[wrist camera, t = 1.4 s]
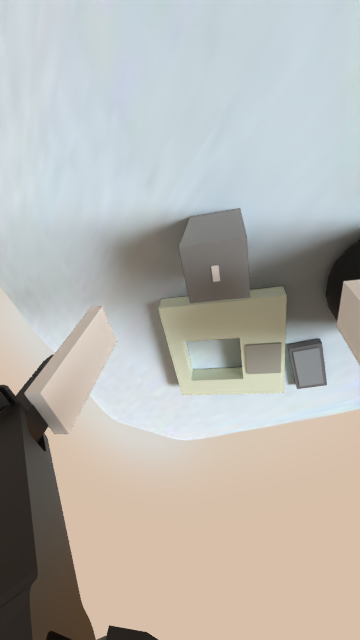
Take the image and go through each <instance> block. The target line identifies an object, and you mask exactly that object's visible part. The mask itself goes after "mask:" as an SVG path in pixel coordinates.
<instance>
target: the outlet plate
mask: <svg viewBox="0 0 360 640" xmlns="http://www.w3.org/2000/svg"><path fill="white" fill-rule="evenodd" d="M286 305H287V295H286V293H285V290H284V288H283V286H281V287H271V288H262V289H252V290H250V298H240V299H230V300H220V301H210V302H200V303H190V302H189V297H188V296H185V297H175V298H165V299H161V301H160V304H159V306H158V311H159V315H160V318H161V322H162V325H163V329H164V333H165V336H166V340H167V343H168V347H169V350H170V354H171V357H172V361H173V365H174V368H175V372H176V375H177V379H178V382H179V386H180V389H181V393H182V395H211V394H256V393H283V392H284V363H285V334H286ZM230 338H240V347H241V359H242V367H238V368H215V369H193V368H192V364H191V359H190V355H189V351H188V346H187V342H186V341H200V340H215V339H230Z"/></svg>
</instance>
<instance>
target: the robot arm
mask: <svg viewBox="0 0 360 640" xmlns="http://www.w3.org/2000/svg"><path fill="white" fill-rule="evenodd" d="M337 328H338V330H339V331H340V333H341V335H342V336H343V338H344V340H345V341H346V343H347V345H348V346H349V348H350V350H351V351H352V353H353V355H354V356H355V358H356V360H357V361H358V363H359V365H360V280H351V281H344V282H343V288H342V295H341V301H340V308H339V314H338V320H337ZM116 342H117V341H116V339H115V336H114V334H113V331H112V329H111V326H110V324H109V321H108V319H107V317H106V314H105V312H104V309H103V307H102V306H99V307H91V308H90V309H89V310H88V312H87V313H86V314H85V316H84V317H83V318H82V319H81V321H80V322H79V323H78V325H77V326H76V327H75V328H74V330H73V331H72V332H71V334H70V335H69V336H68V337H67V339H66V340H65V341H64V343H63V344H62V345H61V346H60V348H59V349H58V350H57V352H56V353H55V354H54V355H51V356H50V357H48V358H47V359H46V360H45V361H43V363H42V364H41V365H40V366H39V368H38V369H37V371H35V373H34V374H33V375H32V377H31V378H30V379H29V380H28V381H27V383H26V384H25V385H24V386H23V388H22V389H21V390H20V391H19V393H18V394H17V395H16V396H15V395H14V394H13V393H12V391H11V390H10V389H9V387H8V386H6V385H0V640H96V639H95V635H94V631H93V628H92V625H91V622H90V620H89V618H88V616H87V614H86V612H85V610H84V608H83V605H82V602H81V598H80V594H79V589H78V584H77V580H76V574H75V570H74V565H73V560H72V555H71V550H70V546H69V540H68V536H67V531H66V526H65V521H64V516H63V511H62V506H61V502H60V497H59V492H58V487H57V483H56V477H55V473H54V468H53V463H52V458H51V453H50V449H49V444H48V439H47V437H46V435H45V434H44V432H45V431H46V429H47V427H48V426H49V428H50V429H51V430H52V431H53V433H54V434H69V433H70V431H71V429H72V427H73V425H74V423H75V421H76V419H77V417H78V416H79V414H80V412H81V410H82V408H83V406H84V404H85V402H86V400H87V398H88V396H89V394H90V393H91V391H92V389H93V387H94V385H95V383H96V381H97V379H98V377H99V375H100V373H101V371H102V369H103V367H104V366H105V364H106V362H107V360H108V358H109V356H110V354H111V352H112V350H113V348H114V346H115V344H116ZM98 640H158V639H156V638H155V637H153V636H152V635H150V634H149V633H147V632H142V631H137V630H131V629H126V628H120V627H114V626H109V628H108V632H107V636H104V637H102V638H100V639H98Z"/></svg>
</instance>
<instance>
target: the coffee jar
mask: <svg viewBox="0 0 360 640" xmlns="http://www.w3.org/2000/svg"><path fill="white" fill-rule="evenodd" d="M351 280H360V241H358V242H357V243H355V244H354V245H352V246H351V247H350V248H349V249H348V250H347V251H346V252H345V253H344V254H343V255H342V256H341V257H340V258H339V260H338V261H337V262H336V264H335V266H334V268H333V269H332V271H331V273H330V275H329V277H328V283H327V289H326V298H327V302H328V306H329V309H330V310H331V312H332V314H333V315H334V317H335V319H336V320H338V314H339V308H340V301H341V295H342V288H343V282H344V281H351Z"/></svg>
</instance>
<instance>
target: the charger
mask: <svg viewBox="0 0 360 640" xmlns="http://www.w3.org/2000/svg"><path fill="white" fill-rule="evenodd" d="M179 252H180V257H181V262H182V267H183V272H184V277H185V282H186V287H187V292H188V297H189V302H190V303H200V302H210V301H220V300H230V299H240V298H250V287H249V269H248V250H247V236H246V231H245V227H244V223H243V218H242V214H241V210H240V208H238V209H232V210H226V211H221V212H215V213H209V214H203V215H197V216H191V217H190V219H189V221H188V224H187V226H186V229H185V232H184V234H183V237H182V239H181V242H180V245H179Z"/></svg>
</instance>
